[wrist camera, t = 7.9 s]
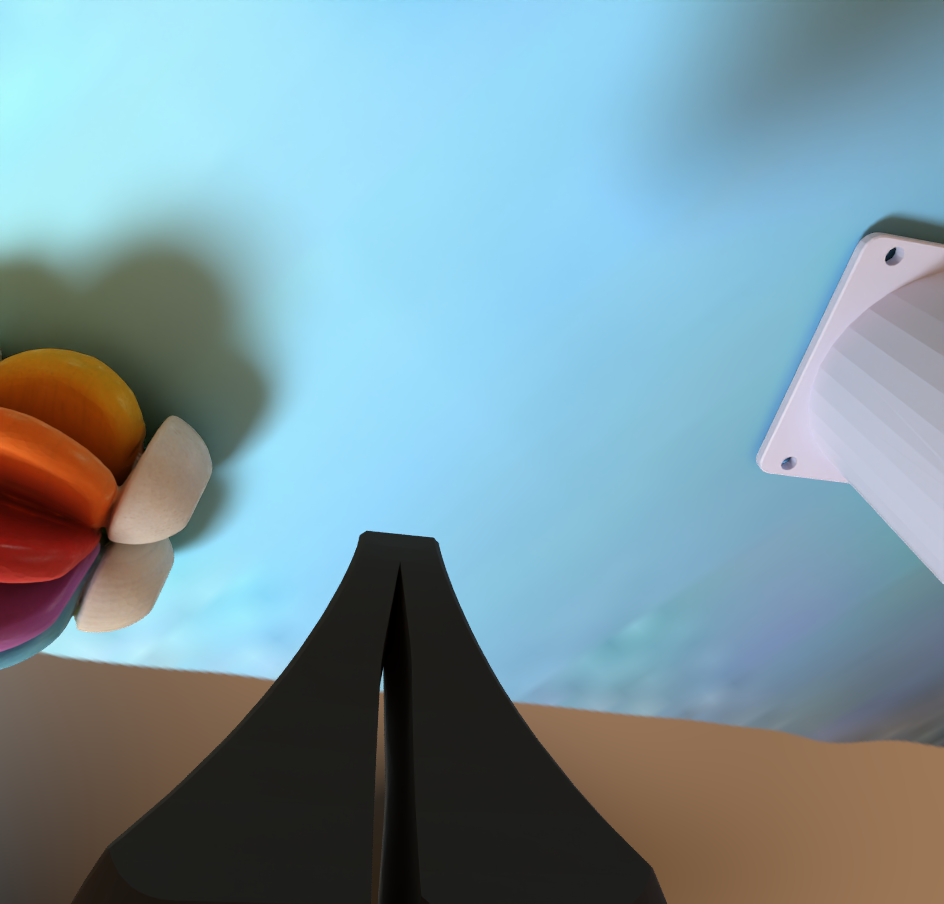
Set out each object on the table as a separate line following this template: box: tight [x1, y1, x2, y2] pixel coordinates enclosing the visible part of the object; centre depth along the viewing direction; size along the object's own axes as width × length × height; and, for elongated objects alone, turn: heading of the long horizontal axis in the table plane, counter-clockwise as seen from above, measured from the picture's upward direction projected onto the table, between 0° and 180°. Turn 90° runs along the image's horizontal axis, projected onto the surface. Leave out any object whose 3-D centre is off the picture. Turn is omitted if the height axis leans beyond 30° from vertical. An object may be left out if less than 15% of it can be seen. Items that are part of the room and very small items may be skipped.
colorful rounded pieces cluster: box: [0, 348, 212, 669], centre depth 19 cm, size 8×10×7 cm
